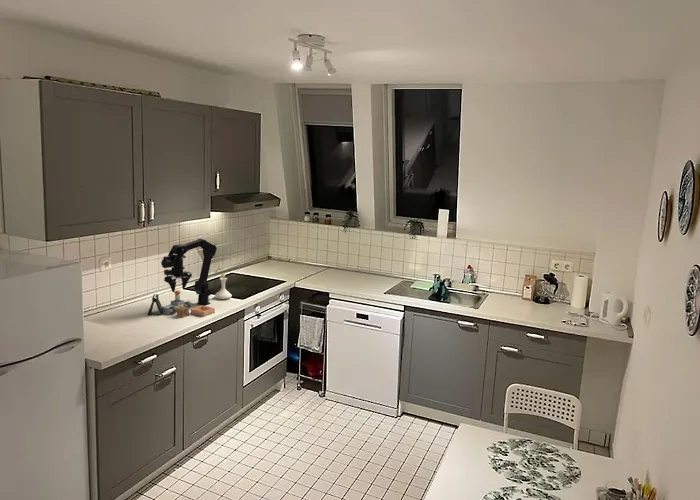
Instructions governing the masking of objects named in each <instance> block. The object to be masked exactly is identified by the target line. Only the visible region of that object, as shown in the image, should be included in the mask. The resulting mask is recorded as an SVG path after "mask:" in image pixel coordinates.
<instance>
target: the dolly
mask: <svg viewBox="0 0 700 500" xmlns="http://www.w3.org/2000/svg"><path fill="white" fill-rule="evenodd" d="M181 305H183V307H187V308H189V309H192V307H193V304H192V302H191V301H190V300H188V301H185V300H181V299H180V302H175V299H174V300H170V304H168V305H165V306H162V310H163V314H167V315H174V314H177V307H178V306H181Z"/></svg>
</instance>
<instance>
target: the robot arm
mask: <svg viewBox="0 0 700 500" xmlns="http://www.w3.org/2000/svg"><path fill="white" fill-rule="evenodd" d="M196 248H197V249H198V248H201V249H202V253H203V260H202V265H201V270H200V272H199V273H200V275H199V278H198V279H197V280H195V281H194V285H193V289H194V291H195V294H196V295H198V298H197V302H196V305H199V306H201V305H203V306H207V305H209V304H211V302H210V301H209V300H210V299H209V296H211V295H212V291H211V290H210V289H209V282H208V277H209V273H210V267H211V263H212V259H213V258H214V257H215V255H216V253H217V249H218V247H217V246H216V245H215V244H212V243H210V242H209V241H207V240H206V239H204V238H198V239H196V240H193V241H190V242H186V243H183V244H181V243H180V244H179V243H178V244H173V245H172V246H171V249H170V250H169V253H168V255H167V256H163V258H162V259H161V262H160V264H161V267H162V268H164V270H163V274H164V279H163V281H164V282H165V283H166V284H167V283H168V285H169V286H170V289H171V291H172V293H174V291H176V286H177V280H178V279H181V284H182V289H183V290H185V288H186V286H187V284H188V282H189V280H190V279H191V278H192V277H193V273H192V272H190V271H187V270H185V269H186V267H185V266H184V259H186V258H187V256H186V255H185V254H187V252H188V251H191V250H194V249H196ZM168 268H171V269H168Z"/></svg>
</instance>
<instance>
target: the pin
mask: <svg viewBox="0 0 700 500" xmlns="http://www.w3.org/2000/svg"><path fill="white" fill-rule="evenodd" d="M173 293H174V300H175V302H180V300H181V298H180V297H181V296H180V295H181V290H175V291H174V292H173Z"/></svg>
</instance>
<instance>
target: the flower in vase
mask: <svg viewBox="0 0 700 500" xmlns="http://www.w3.org/2000/svg"><path fill="white" fill-rule="evenodd" d="M222 265H223V264H222V262H220V264H219V265H218V267H217V268H216V270H215V271H214V273H215V274H217V273H218V271H219V270H220V271H221V275H220V276H219V280H220V282H221V288H220V290H219V291H217V292H216V293H215V294H214V298H215V299H219V300H228V299H229V300H230V299H231V298H232V294H231V293H230V291H228V290H227V289H226V281H227V280H228V277H226V274H225V272H223V271H222V269H221V267H222Z"/></svg>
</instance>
